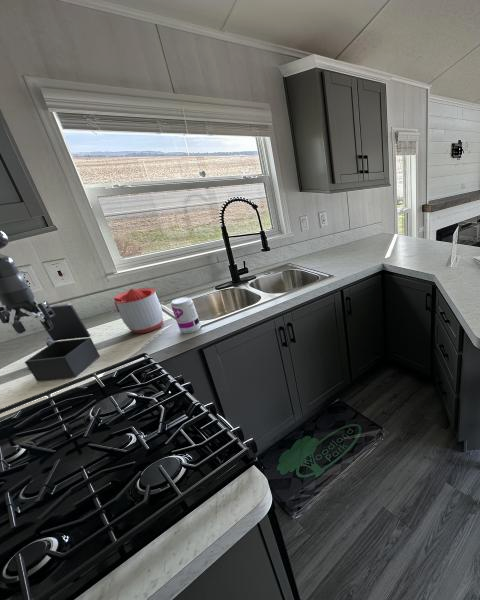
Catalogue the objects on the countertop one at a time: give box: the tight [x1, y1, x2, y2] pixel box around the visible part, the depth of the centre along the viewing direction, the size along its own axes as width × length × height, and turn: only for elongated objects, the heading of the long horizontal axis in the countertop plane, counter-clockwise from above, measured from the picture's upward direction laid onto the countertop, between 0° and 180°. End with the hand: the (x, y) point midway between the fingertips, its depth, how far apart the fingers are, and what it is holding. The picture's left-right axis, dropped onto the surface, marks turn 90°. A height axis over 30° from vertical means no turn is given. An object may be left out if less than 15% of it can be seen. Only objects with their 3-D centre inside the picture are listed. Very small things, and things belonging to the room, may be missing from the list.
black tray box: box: [24, 337, 101, 382], centre depth 124 cm, size 14×13×9 cm
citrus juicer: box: [111, 287, 164, 335], centre depth 148 cm, size 16×17×20 cm
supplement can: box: [170, 296, 202, 334], centre depth 147 cm, size 8×8×15 cm
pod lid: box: [35, 302, 91, 342], centre depth 126 cm, size 14×13×5 cm
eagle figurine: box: [46, 336, 54, 347], centre depth 133 cm, size 8×7×9 cm
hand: (36, 331), depth 114 cm, fingers open, 8 cm apart
